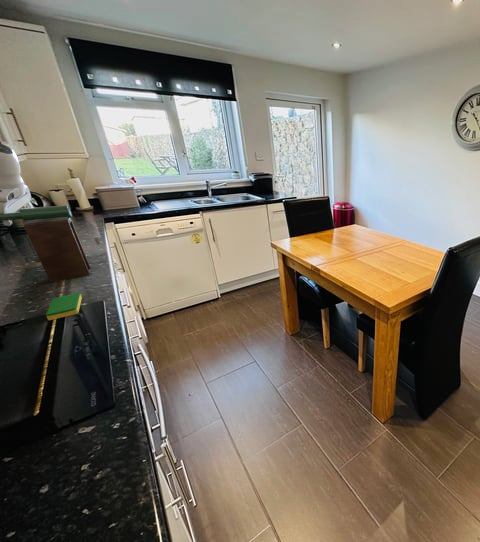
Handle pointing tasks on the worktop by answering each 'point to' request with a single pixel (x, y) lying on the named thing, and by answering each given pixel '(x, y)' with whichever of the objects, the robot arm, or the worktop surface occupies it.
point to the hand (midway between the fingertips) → (15, 219)
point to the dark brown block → (58, 247)
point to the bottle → (38, 213)
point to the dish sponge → (64, 306)
